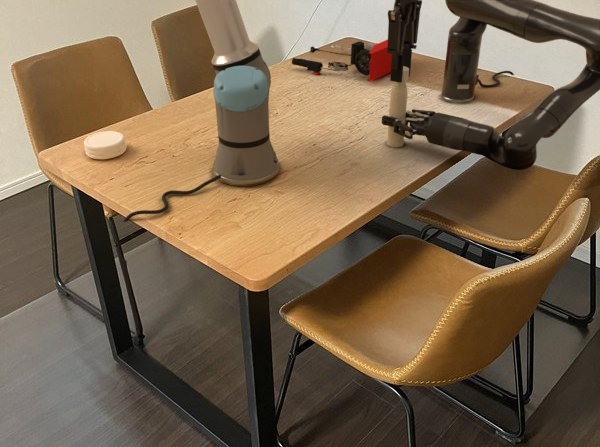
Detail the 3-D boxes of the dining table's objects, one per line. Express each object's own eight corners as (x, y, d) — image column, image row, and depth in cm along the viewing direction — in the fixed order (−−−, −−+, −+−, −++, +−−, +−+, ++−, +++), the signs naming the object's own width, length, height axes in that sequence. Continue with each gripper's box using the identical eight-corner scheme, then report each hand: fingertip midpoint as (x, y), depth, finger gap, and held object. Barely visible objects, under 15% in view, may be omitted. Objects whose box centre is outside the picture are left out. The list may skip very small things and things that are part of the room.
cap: (389, 79, 148) (389, 69, 146) (395, 74, 150) (396, 64, 149) (404, 81, 146) (405, 72, 145) (411, 76, 149) (411, 67, 147)
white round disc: (96, 164, 150) (94, 150, 148) (79, 150, 156) (76, 138, 154) (134, 151, 155) (131, 138, 153) (115, 139, 162) (113, 127, 160)
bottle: (397, 148, 155) (402, 75, 145) (383, 144, 157) (388, 71, 147) (406, 143, 157) (412, 70, 147) (393, 139, 160) (398, 67, 150)
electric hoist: (290, 38, 202) (370, 53, 187) (334, 24, 221) (410, 36, 206) (290, 69, 207) (368, 86, 192) (333, 52, 226) (407, 67, 211)
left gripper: (408, -33, 143) (400, 66, 156) (374, -20, 131) (369, 86, 144) (438, -31, 140) (428, 71, 152) (407, -17, 128) (399, 92, 141)
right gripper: (436, 157, 144) (372, 140, 152) (461, 136, 153) (399, 120, 162) (439, 127, 140) (373, 111, 148) (465, 107, 149) (401, 93, 158)
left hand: (400, 78), depth 148 cm, fingers closed on cap, 4 cm apart
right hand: (387, 116), depth 155 cm, fingers closed on bottle, 4 cm apart
